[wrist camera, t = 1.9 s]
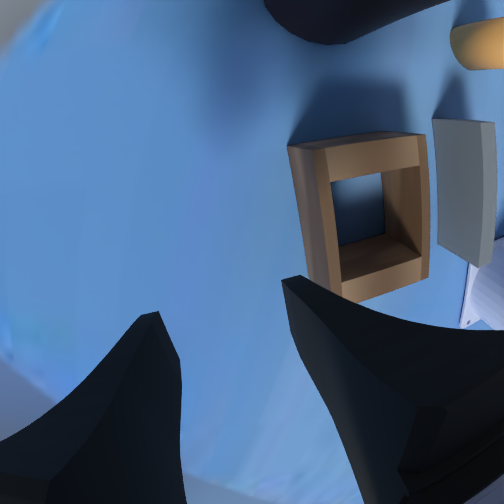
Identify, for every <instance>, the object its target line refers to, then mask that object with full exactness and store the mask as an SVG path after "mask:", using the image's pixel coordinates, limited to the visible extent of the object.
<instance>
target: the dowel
mask: <svg viewBox="0 0 504 504" xmlns="http://www.w3.org/2000/svg"><path fill="white" fill-rule="evenodd" d="M450 43H451V47H452V50H453V53H454V55H455V57H456V58H457V60H458V61H459V63H460V64H461V65H462V66H463V67H465V68H466V69H468V70H486V69H504V17H500V18H494V19H489V20H484V21H479V22H474V23H469V24H465V25H461V26H457V27H454V28H453V29H452V30H451V33H450Z"/></svg>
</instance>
